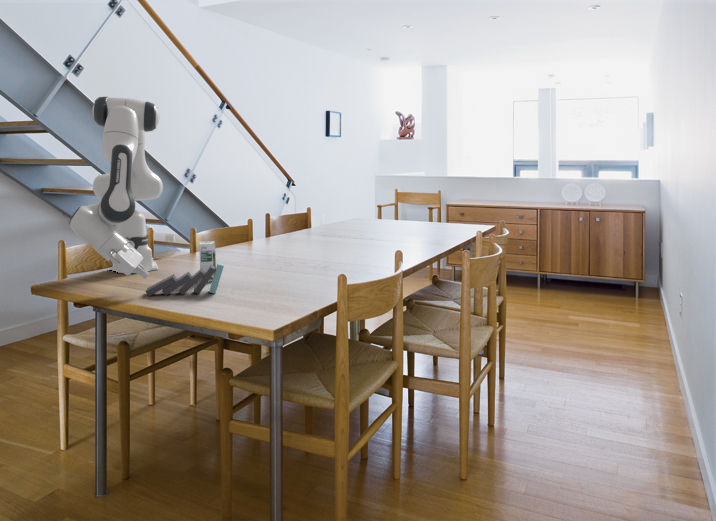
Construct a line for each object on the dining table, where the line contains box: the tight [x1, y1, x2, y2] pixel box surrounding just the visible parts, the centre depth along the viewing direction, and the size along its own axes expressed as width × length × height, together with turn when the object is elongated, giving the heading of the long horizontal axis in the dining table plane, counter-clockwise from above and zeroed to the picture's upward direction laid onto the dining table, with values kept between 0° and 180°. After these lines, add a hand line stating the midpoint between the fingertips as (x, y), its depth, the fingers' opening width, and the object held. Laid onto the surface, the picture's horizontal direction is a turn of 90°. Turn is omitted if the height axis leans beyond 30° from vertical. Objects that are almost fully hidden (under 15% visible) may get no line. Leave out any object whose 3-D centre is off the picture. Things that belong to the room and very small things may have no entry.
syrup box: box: [198, 241, 217, 282], centre depth 214 cm, size 6×6×14 cm
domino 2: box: [161, 271, 193, 297], centre depth 193 cm, size 2×5×10 cm
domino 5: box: [209, 261, 225, 295], centre depth 196 cm, size 2×5×10 cm, turn 15°
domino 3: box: [177, 268, 205, 296], centre depth 194 cm, size 2×5×10 cm
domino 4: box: [193, 265, 217, 295], centre depth 195 cm, size 2×5×10 cm
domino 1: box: [145, 274, 178, 297], centre depth 192 cm, size 2×5×10 cm
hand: (147, 276), depth 191 cm, fingers closed
